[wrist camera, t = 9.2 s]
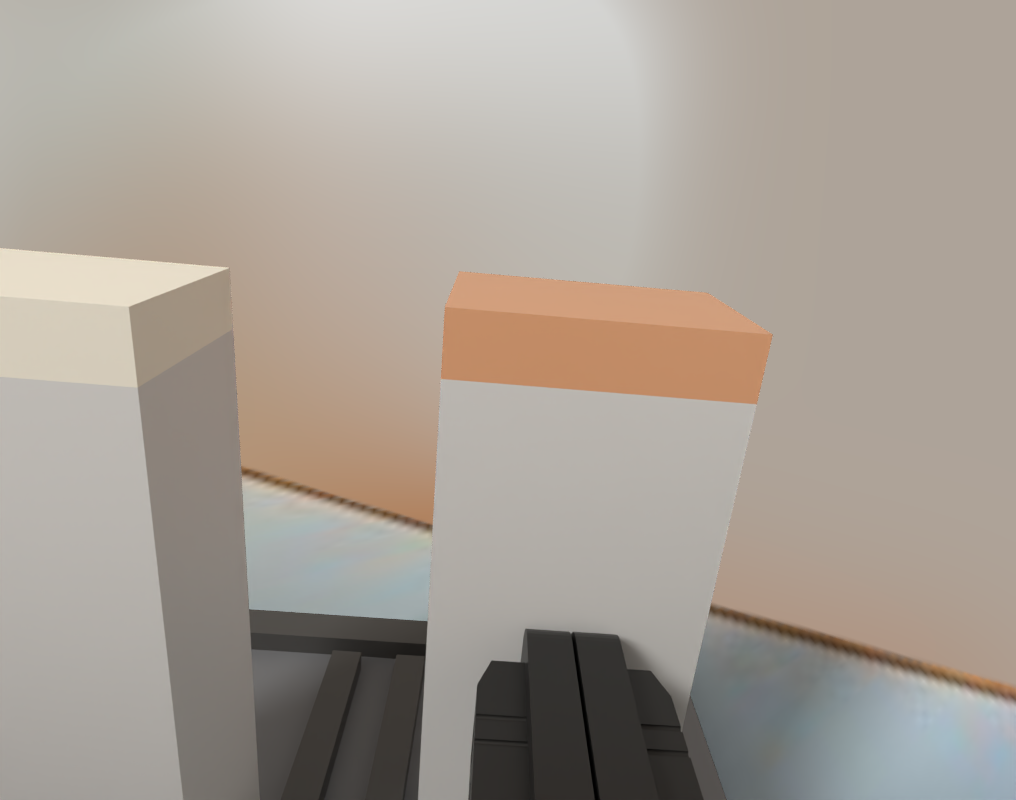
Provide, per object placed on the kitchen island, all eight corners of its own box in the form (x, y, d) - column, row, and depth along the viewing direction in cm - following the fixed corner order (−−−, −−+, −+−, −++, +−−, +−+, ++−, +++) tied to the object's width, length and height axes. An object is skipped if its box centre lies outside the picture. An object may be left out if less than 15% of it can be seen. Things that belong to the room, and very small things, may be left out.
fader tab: (411, 917, 13) (445, 306, 9) (428, 779, 16) (459, 271, 11) (636, 928, 13) (772, 335, 9) (612, 790, 16) (707, 292, 12)
